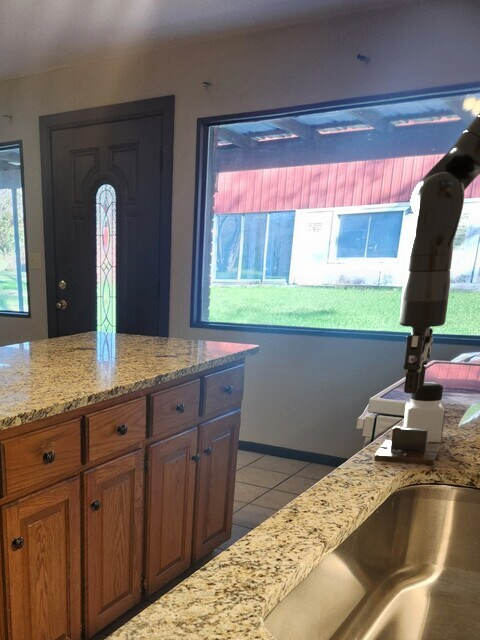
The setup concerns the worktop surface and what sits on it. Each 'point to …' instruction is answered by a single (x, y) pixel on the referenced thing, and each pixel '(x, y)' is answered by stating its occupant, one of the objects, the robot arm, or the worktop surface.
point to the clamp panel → (407, 454)
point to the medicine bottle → (426, 411)
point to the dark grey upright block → (409, 438)
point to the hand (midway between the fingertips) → (413, 389)
